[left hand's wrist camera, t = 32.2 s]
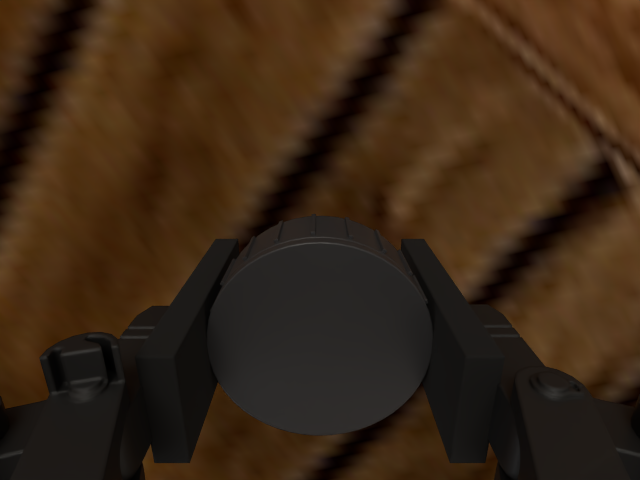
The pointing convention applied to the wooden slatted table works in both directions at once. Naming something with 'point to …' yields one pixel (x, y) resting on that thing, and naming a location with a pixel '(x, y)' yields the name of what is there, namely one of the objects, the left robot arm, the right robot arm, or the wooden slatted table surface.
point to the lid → (319, 327)
